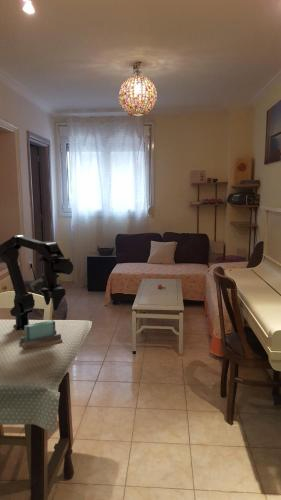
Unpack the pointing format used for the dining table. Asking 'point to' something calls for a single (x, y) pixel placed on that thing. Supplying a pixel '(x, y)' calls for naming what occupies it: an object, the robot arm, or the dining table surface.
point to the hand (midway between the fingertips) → (51, 307)
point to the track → (40, 341)
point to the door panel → (39, 330)
